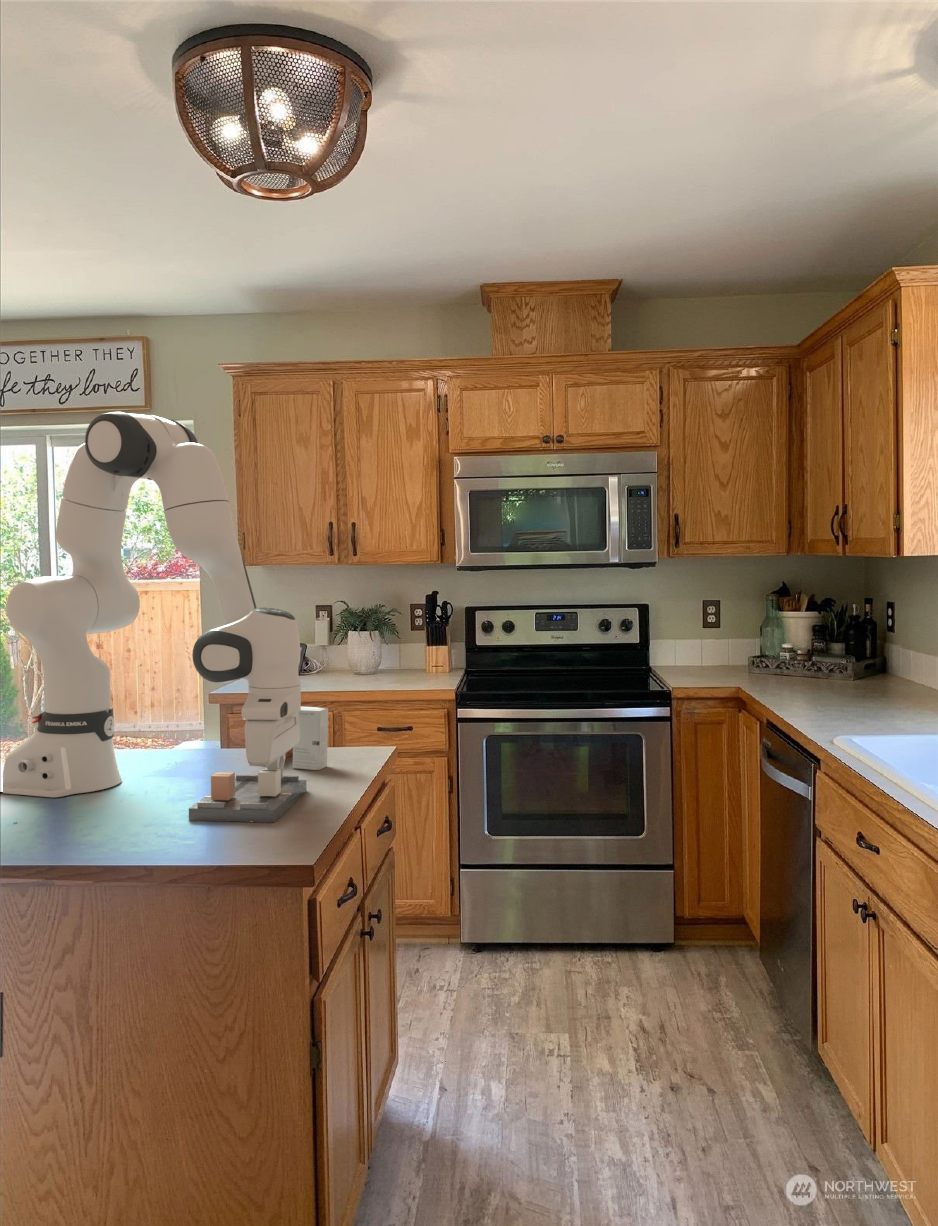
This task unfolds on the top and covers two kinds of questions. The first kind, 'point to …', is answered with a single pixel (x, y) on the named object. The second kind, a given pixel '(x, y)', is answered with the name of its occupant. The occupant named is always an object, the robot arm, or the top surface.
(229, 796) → the fader
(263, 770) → the fader
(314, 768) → the skincare box
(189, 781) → the top surface
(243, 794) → the panel
